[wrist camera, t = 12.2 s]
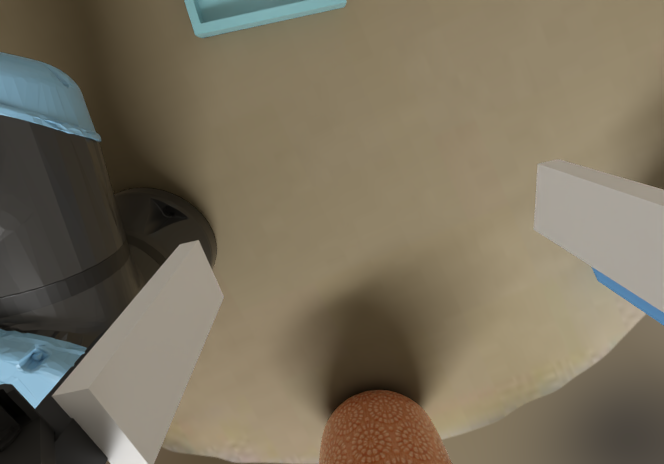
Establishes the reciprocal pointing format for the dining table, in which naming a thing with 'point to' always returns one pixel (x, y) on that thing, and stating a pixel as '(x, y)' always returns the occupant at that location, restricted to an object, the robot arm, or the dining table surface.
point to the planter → (381, 432)
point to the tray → (249, 13)
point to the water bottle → (630, 297)
